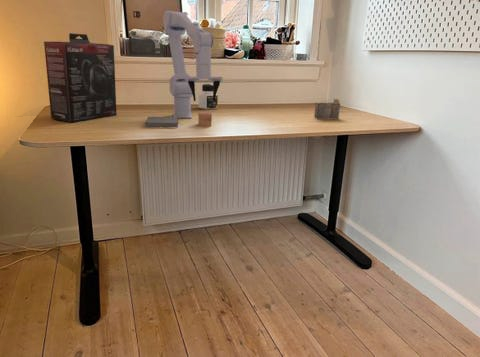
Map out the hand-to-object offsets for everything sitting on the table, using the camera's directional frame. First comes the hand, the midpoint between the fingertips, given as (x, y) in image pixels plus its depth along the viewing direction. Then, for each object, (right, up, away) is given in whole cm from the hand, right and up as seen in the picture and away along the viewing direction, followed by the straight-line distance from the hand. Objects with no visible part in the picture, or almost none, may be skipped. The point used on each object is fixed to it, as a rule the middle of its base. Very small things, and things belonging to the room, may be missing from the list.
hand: (204, 100), depth 153 cm
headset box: (-50, -5, +9) cm, 51 cm away
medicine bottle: (-2, +5, +45) cm, 46 cm away
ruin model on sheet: (+55, -3, +31) cm, 64 cm away
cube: (0, -9, +4) cm, 10 cm away
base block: (-17, -10, +1) cm, 20 cm away
